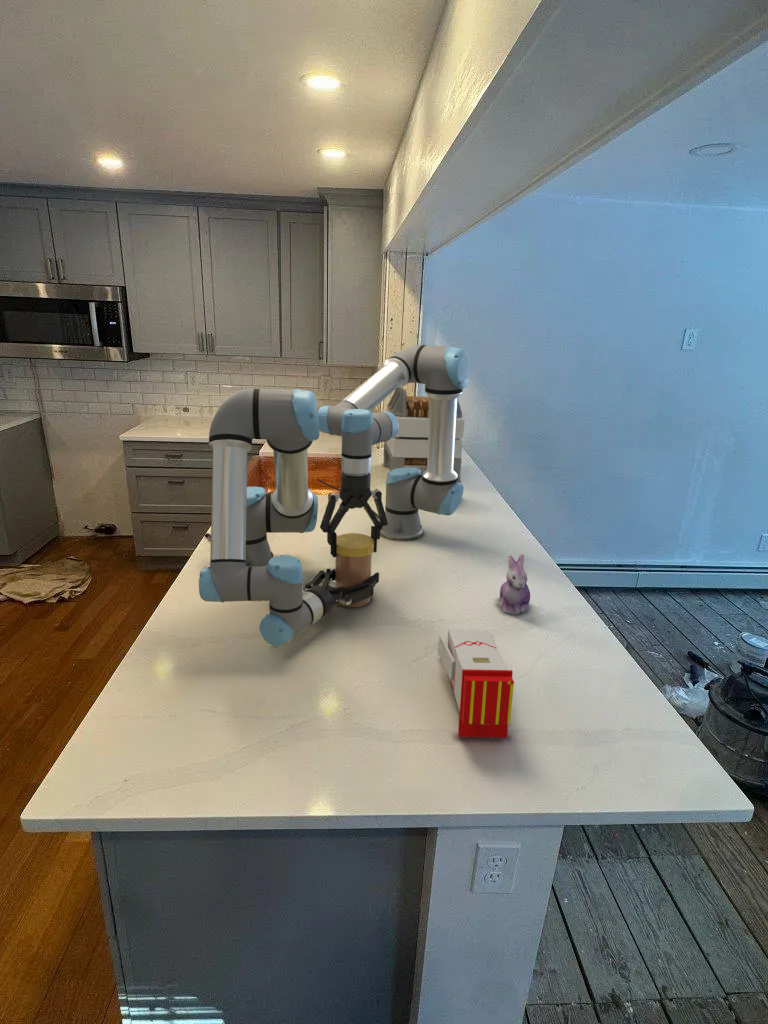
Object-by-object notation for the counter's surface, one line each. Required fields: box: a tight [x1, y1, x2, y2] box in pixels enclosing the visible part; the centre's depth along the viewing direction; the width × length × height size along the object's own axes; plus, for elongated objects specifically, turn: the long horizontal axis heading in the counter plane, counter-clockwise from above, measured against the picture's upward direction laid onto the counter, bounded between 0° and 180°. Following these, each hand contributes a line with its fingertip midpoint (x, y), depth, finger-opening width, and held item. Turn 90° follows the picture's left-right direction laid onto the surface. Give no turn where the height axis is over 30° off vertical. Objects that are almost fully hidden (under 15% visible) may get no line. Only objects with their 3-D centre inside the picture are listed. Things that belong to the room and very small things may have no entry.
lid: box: [336, 532, 374, 557], centre depth 149 cm, size 11×11×2 cm
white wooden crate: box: [383, 387, 465, 480], centre depth 268 cm, size 34×33×41 cm
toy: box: [437, 628, 515, 738], centre depth 117 cm, size 12×13×30 cm
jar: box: [334, 552, 373, 608], centre depth 151 cm, size 10×10×17 cm
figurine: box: [498, 553, 531, 615], centre depth 151 cm, size 9×10×15 cm
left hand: (361, 572), depth 156 cm, fingers closed on jar, 10 cm apart
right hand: (353, 552), depth 150 cm, fingers closed on lid, 10 cm apart
